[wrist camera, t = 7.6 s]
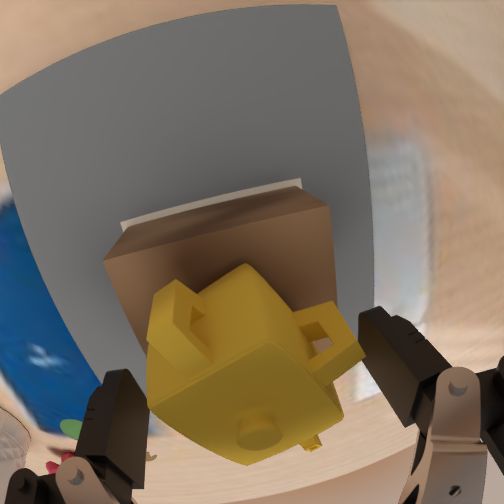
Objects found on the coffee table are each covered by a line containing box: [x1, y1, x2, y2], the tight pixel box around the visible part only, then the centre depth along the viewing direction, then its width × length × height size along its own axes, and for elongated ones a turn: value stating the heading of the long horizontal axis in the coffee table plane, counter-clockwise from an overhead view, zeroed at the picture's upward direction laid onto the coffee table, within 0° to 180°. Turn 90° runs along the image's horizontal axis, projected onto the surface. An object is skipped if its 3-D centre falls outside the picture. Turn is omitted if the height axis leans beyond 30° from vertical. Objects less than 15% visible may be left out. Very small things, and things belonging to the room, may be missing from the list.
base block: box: [103, 186, 338, 357], centre depth 13 cm, size 8×8×4 cm
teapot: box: [146, 263, 366, 466], centre depth 9 cm, size 8×6×5 cm
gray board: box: [0, 5, 374, 396], centre depth 14 cm, size 18×20×1 cm
